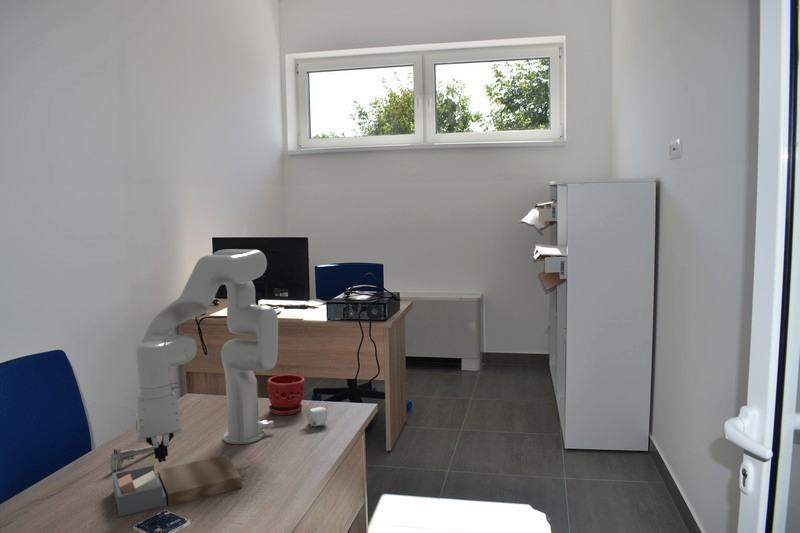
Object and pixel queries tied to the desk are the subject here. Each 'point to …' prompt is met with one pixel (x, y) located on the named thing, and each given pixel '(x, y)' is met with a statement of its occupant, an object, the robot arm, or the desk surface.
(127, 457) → the caliper
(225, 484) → the plate
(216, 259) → the robot arm
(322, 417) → the elephant figurine
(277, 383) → the plant pot
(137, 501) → the box
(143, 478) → the tile cream
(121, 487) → the tile terracotta
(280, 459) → the desk surface
